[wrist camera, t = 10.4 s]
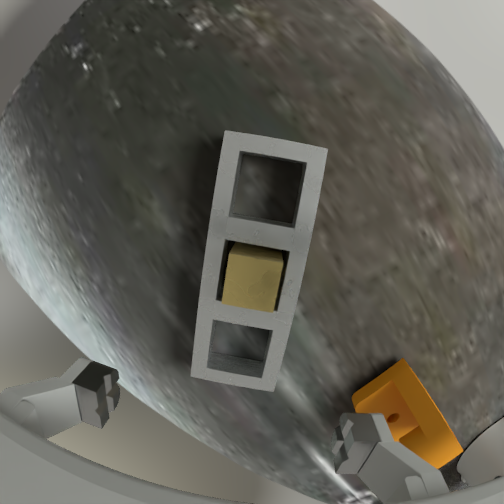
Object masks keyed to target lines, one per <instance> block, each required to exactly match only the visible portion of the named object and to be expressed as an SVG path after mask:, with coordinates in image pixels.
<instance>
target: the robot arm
mask: <svg viewBox="0 0 504 504" xmlns="http://www.w3.org/2000/svg"><path fill="white" fill-rule="evenodd" d="M118 379H119V374H118V371H117V370H116V369H114V368H111V367H108V366H106V365H103V364H100V363H98V362H95V361H92V360H89V359H87V358H84V357H81V358H79V359H78V360H77V361H76V362H75V363H74V364H73V365H72V366H71V367H70V368H69V369H68V370H67V371H66V372H65V373H64V374H63V375H62V376H61V377H60V378H58V377H53V378H48V379H44V380H40V381H36V382H31V383H27V384H23V385H18V386H14V387H9V388H6V389H4V391H2V392H1V393H0V504H253V503H245V502H238V501H231V500H225V499H219V498H214V497H208V496H203V495H198V494H194V493H189V492H185V491H181V490H177V489H173V488H169V487H166V486H162V485H158V484H155V483H152V482H148V481H145V480H141V479H139V478H136V477H133V476H130V475H127V474H124V473H121V472H119V471H116V470H113V469H111V468H108V467H105V466H103V465H100V464H98V463H96V462H93V461H91V460H88V459H86V458H84V457H82V456H79V455H77V454H75V453H73V452H71V451H69V450H66V449H64V448H62V447H60V446H58V445H56V444H54V443H52V442H50V441H49V440H47V438H49V437H52V436H54V435H56V434H58V433H60V432H62V431H64V430H67V429H69V428H71V427H73V426H75V425H77V424H79V423H81V422H82V421H83V422H85V423H88V424H90V425H93V426H96V427H98V428H101V429H102V428H103V426H104V425H105V423H106V422H107V420H108V419H109V412H111V411H114V410H115V408H116V406H117V404H118V401H119V397H120V388H119V386H118V385H117V383H116V382H117V381H118ZM339 422H340V426H338V427H337V428H335V430H334V432H333V434H332V439H331V450H332V452H333V453H334V454H335V455H336V456H335V458H334V460H333V462H334V467H335V473H336V474H357V475H358V476H359V478H360V479H361V480H362V481H363V482H364V483H365V484H366V485H367V486H368V488H369V489H370V490H371V491H372V492H373V493H374V494H375V495H376V496H377V497H378V498H379V499H380V501H381V502H382V503H383V504H504V417H503V418H502V419H501V420H499V421H498V422H497V423H495V424H494V425H492V426H491V427H490V428H488V429H487V430H486V431H485V432H483V433H482V434H481V435H480V436H479V437H478V438H477V439H476V440H475V441H474V442H473V443H472V444H471V445H470V446H469V447H468V448H467V450H466V451H465V452H464V453H463V455H462V456H461V458H460V460H459V462H458V464H457V471H458V472H459V473H460V474H461V480H462V482H463V483H466V482H467V484H468V485H469V487H468V488H464V489H461V490H457V491H453V492H450V491H449V489H448V487H447V485H446V483H445V480H444V478H443V476H442V474H441V472H440V471H439V470H438V469H436V468H435V467H433V466H432V465H430V464H429V463H427V462H426V461H425V460H423V459H422V458H420V457H419V456H417V455H416V454H415V453H413V452H412V451H410V450H409V449H408V448H406V447H405V446H404V445H402V444H401V443H399V442H398V441H396V442H395V441H394V439H393V437H392V434H391V432H390V429H389V427H388V425H387V422H386V420H385V418H384V415H383V414H382V413H369V414H368V413H345V412H344V413H343V414H342V415H341V417H340V419H339Z"/></svg>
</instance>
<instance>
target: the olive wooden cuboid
mask: <svg viewBox="0 0 504 504" xmlns="http://www.w3.org/2000/svg"><path fill="white" fill-rule="evenodd" d="M282 267H283V258H282V251H281V249H276V248H270V247H265V246H259V245H254V244H248V243H243V242H237V241H236V242H235V244H234V246H233V248H232V249H231V251H230V253H229V257H228V264H227V270H226V277H225V283H224V290H223V297H222V303H221V304H226V305H231V306H236V307H242V308H247V309H253V310H258V311H264V312H270V313H273V311H274V306H275V301H276V297H277V292H278V287H279V282H280V277H281V272H282Z"/></svg>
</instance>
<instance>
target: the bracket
mask: <svg viewBox="0 0 504 504" xmlns="http://www.w3.org/2000/svg"><path fill="white" fill-rule="evenodd" d="M352 402H353V405H354V408H355V411H356V413H368V414H369V413H382V414H383V415H384V418H385V420H386V422H387V425H388V427H389V429H390V432H391V434H392V437H393V439H394V441H395V442H396V441H398V442H399V443H401V444H402V445H404V446H405V447H406V448H408V449H409V450H410V451H412V452H413V453H415V454H416V455H417V456H419V457H420V458H422V459H423V460H425V461H426V462H427V463H429V464H430V465H432V466H433V467H435V468H436V469H439V468H440V467H442V466H443V465H445V464H446V463H448V462H449V461H451V460H452V459H453V458H455V457H456V456H458V455H459V454H460V453H462V452H463V449H462V447H461V446H460V444H459V442H458V440H457V439H456V437H455V435H454V434H453V432H452V430H451V429H450V427H449V425H448V424H447V422H446V420H445V419H444V417H443V415H442V414H441V412H440V411H439V409H438V407H437V406H436V404H435V403H434V401H433V400H432V398H431V397H430V395H429V394H428V392H427V391H426V389H425V388H424V386H423V385H422V384H421V382H420V381H419V379H418V378H417V376H416V375H415V373H414V372H413V371H412V369H411V368H410V367H409V365H408V364H407V362H406V361H405V359H404V358H402V359H401V360H400V361H398V362H397V363H396V364H394V365H393V366H392V367H390V368H389V369H388V370H386V371H385V372H384V373H382V374H381V375H379V376H378V377H377V378H375V379H374V380H372V381H371V382H370V383H368V384H367V385H365V386H364V387H362V388H361V389H359V390H358V391H356V392H355V393H354V394H353V395H352Z"/></svg>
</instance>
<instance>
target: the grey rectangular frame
mask: <svg viewBox="0 0 504 504" xmlns="http://www.w3.org/2000/svg"><path fill="white" fill-rule="evenodd" d="M327 151H328V149H326V148H322V147H317V146H312V145H308V144H303V143H298V142H293V141H287V140H282V139H276V138H271V137H265V136H259V135H253V134H246V133H239V132H232V131H225V133H224V138H223V144H222V149H221V155H220V161H219V166H218V172H217V178H216V184H215V190H214V197H213V203H212V209H211V216H210V222H209V229H208V236H207V243H206V250H205V257H204V264H203V272H202V280H201V287H200V295H199V303H198V312H197V320H196V329H195V338H194V348H193V357H192V368H191V377H196V378H200V379H205V380H210V381H214V382H219V383H225V384H230V385H235V386H241V387H247V388H253V389H259V390H265V391H272V392H274V389H275V385H276V382H277V378H278V374H279V370H280V367H281V363H282V359H283V355H284V352H285V348H286V344H287V340H288V336H289V332H290V328H291V324H292V320H293V316H294V312H295V308H296V303H297V299H298V295H299V291H300V286H301V282H302V277H303V273H304V269H305V264H306V259H307V255H308V250H309V245H310V241H311V236H312V231H313V226H314V221H315V216H316V211H317V206H318V201H319V196H320V190H321V185H322V180H323V174H324V168H325V163H326V157H327ZM243 154H247V155H253V156H259V157H265V158H270V159H276V160H281V161H287V162H292V163H297V164H302V165H303V168H302V174H301V179H300V185H299V190H298V195H297V201H296V206H295V211H294V217H293V222H292V224H291V223H286V222H281V221H275V220H270V219H264V218H259V217H253V216H248V215H242V214H236V213H233V210H234V204H235V198H236V192H237V186H238V180H239V174H240V169H241V163H242V157H243ZM229 240H232V241H237V242H243V243H248V244H254V245H259V246H265V247H270V248H276V249H281V250H287V252H286V257H285V262H284V267H283V272H282V277H281V281H280V286H279V291H278V296H277V298H276V301H275V306H274V311H273V313H270V312H264V311H258V310H253V309H247V308H242V307H236V306H231V305H226V304H221V303H222V297H223V290H224V289H222V288H221V286H222V279H223V272H224V266H225V260H226V253H227V247H228V241H229ZM216 320H219V321H224V322H229V323H235V324H240V325H245V326H251V327H256V328H262V329H268V330H270V332H269V337H268V341H267V345H266V350H265V354H264V359H263V361H258V360H252V359H246V358H240V357H235V356H230V355H225V354H219V353H214V352H212V348H213V341H214V333H215V326H216Z"/></svg>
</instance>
